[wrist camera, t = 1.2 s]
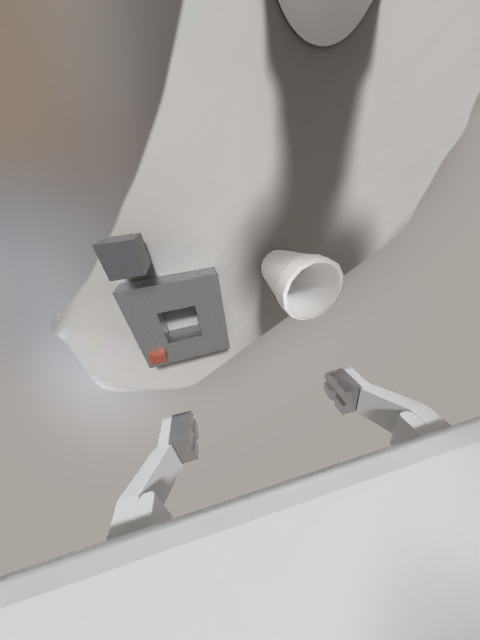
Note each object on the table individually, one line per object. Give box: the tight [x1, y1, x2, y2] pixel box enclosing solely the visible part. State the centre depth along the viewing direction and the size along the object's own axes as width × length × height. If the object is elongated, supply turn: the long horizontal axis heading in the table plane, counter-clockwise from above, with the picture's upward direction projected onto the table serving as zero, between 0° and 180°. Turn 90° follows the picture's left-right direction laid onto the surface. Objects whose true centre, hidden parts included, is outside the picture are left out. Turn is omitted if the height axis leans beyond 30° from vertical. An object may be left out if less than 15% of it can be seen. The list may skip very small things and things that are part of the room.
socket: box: [113, 267, 230, 368], centre depth 36 cm, size 16×16×5 cm
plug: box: [93, 233, 151, 281], centre depth 27 cm, size 4×4×8 cm
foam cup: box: [261, 250, 344, 321], centre depth 33 cm, size 10×9×13 cm
